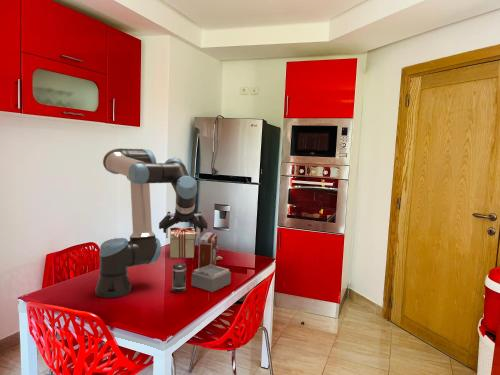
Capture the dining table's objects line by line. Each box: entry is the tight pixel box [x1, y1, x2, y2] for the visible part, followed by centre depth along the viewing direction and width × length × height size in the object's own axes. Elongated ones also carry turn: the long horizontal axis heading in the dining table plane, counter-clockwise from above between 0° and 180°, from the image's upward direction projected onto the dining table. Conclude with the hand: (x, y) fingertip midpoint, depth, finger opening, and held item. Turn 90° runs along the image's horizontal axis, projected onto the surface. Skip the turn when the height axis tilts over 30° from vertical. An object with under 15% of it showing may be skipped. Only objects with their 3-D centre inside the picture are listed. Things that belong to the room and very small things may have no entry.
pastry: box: [216, 255, 223, 261], centre depth 222 cm, size 7×12×4 cm, turn 143°
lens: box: [171, 262, 187, 294], centre depth 173 cm, size 6×6×12 cm
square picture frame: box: [193, 264, 230, 279], centre depth 181 cm, size 12×12×2 cm
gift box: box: [169, 226, 198, 259], centre depth 228 cm, size 17×18×17 cm
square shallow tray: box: [190, 268, 232, 293], centre depth 182 cm, size 14×13×6 cm
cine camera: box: [197, 231, 219, 269], centre depth 203 cm, size 9×19×20 cm, turn 174°
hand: (182, 235), depth 164 cm, fingers open, 13 cm apart
